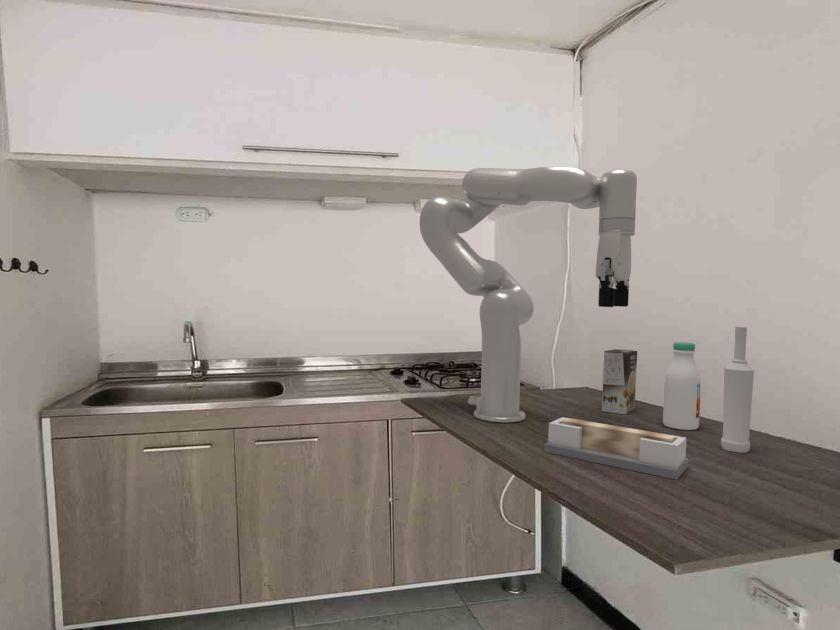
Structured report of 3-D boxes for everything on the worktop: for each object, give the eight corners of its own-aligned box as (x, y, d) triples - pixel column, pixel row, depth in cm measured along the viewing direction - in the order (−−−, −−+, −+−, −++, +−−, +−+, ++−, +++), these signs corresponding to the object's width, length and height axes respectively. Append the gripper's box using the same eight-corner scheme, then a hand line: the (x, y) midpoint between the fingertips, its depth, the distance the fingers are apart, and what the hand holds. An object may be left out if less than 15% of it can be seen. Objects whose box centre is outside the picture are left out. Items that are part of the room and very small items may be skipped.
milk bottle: (690, 432, 124) (694, 345, 123) (656, 425, 130) (660, 342, 129) (704, 427, 129) (708, 343, 128) (671, 421, 135) (674, 340, 134)
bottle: (754, 454, 108) (760, 328, 107) (725, 451, 109) (731, 327, 108) (744, 446, 113) (750, 326, 112) (717, 444, 114) (722, 325, 113)
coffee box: (626, 415, 140) (628, 353, 140) (601, 411, 144) (603, 351, 143) (635, 409, 148) (637, 350, 147) (611, 405, 152) (613, 348, 151)
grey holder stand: (544, 451, 107) (544, 423, 106) (562, 442, 114) (563, 416, 113) (676, 479, 92) (678, 447, 92) (688, 466, 99) (689, 436, 99)
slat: (561, 443, 107) (562, 420, 107) (567, 440, 110) (568, 417, 110) (670, 464, 95) (671, 439, 95) (674, 460, 98) (675, 435, 97)
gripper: (612, 233, 129) (609, 305, 130) (585, 225, 115) (582, 306, 116) (645, 231, 124) (642, 306, 125) (621, 223, 111) (618, 307, 111)
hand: (613, 306), depth 120 cm, fingers open, 9 cm apart
